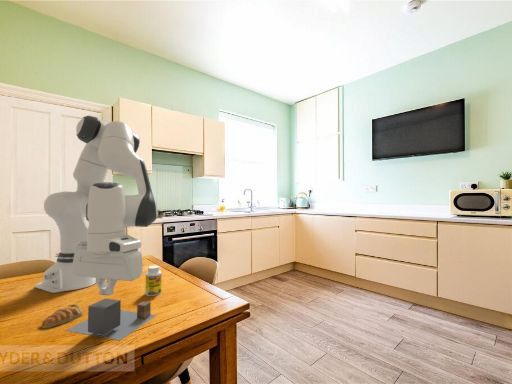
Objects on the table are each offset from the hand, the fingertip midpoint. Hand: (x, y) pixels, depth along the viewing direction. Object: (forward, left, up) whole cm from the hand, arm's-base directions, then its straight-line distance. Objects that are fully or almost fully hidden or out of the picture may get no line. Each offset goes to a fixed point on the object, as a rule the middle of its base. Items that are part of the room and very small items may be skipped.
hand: (106, 294), depth 66 cm
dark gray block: (0, 0, -9) cm, 9 cm away
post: (+4, +10, -10) cm, 14 cm away
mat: (-2, +5, -10) cm, 12 cm away
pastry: (-18, +2, -11) cm, 21 cm away
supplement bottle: (-6, +27, -11) cm, 29 cm away
